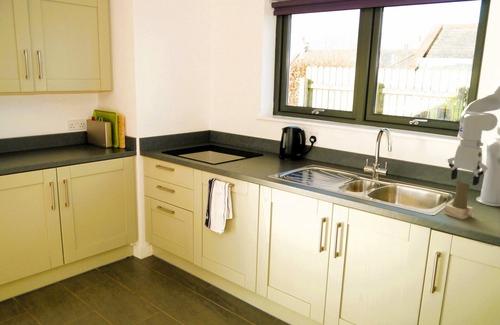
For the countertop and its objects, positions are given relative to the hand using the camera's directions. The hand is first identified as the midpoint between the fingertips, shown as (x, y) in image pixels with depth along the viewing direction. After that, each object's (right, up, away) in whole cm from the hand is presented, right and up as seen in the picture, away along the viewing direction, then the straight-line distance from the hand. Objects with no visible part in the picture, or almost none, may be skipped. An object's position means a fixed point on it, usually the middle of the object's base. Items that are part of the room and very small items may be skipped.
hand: (464, 181), depth 184 cm
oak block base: (-1, -15, +3) cm, 15 cm away
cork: (-1, -11, +2) cm, 11 cm away
